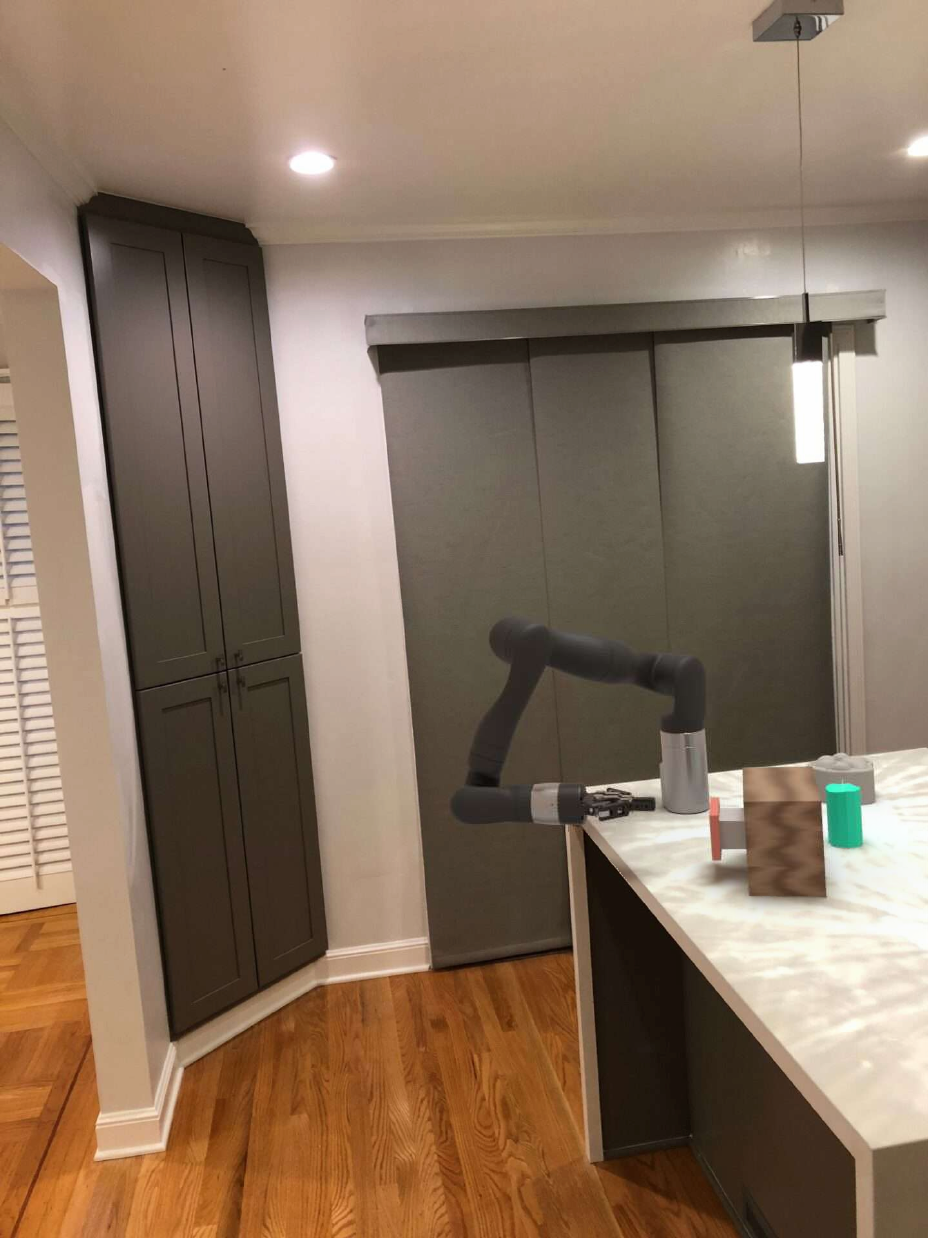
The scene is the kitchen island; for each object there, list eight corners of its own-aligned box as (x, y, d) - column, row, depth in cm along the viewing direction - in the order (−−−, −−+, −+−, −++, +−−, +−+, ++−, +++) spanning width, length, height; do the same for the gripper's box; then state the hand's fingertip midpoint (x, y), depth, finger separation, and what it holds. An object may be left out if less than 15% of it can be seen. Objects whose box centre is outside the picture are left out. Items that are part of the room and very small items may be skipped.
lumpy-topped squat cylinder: (876, 806, 196) (873, 764, 195) (808, 804, 201) (806, 764, 200) (874, 790, 206) (872, 751, 205) (809, 789, 211) (807, 751, 210)
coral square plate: (712, 860, 165) (709, 815, 164) (713, 840, 174) (710, 797, 173) (770, 861, 162) (767, 815, 161) (768, 840, 172) (765, 797, 171)
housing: (749, 895, 159) (743, 801, 157) (747, 851, 178) (742, 767, 176) (826, 897, 156) (821, 801, 154) (816, 852, 175) (811, 766, 173)
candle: (866, 847, 174) (863, 783, 173) (831, 848, 176) (827, 784, 174) (859, 836, 180) (856, 774, 179) (825, 837, 182) (822, 775, 180)
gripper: (551, 794, 169) (651, 794, 164) (563, 773, 182) (657, 773, 177) (554, 835, 170) (653, 837, 165) (566, 812, 183) (659, 813, 178)
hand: (655, 804), depth 171 cm, fingers closed
